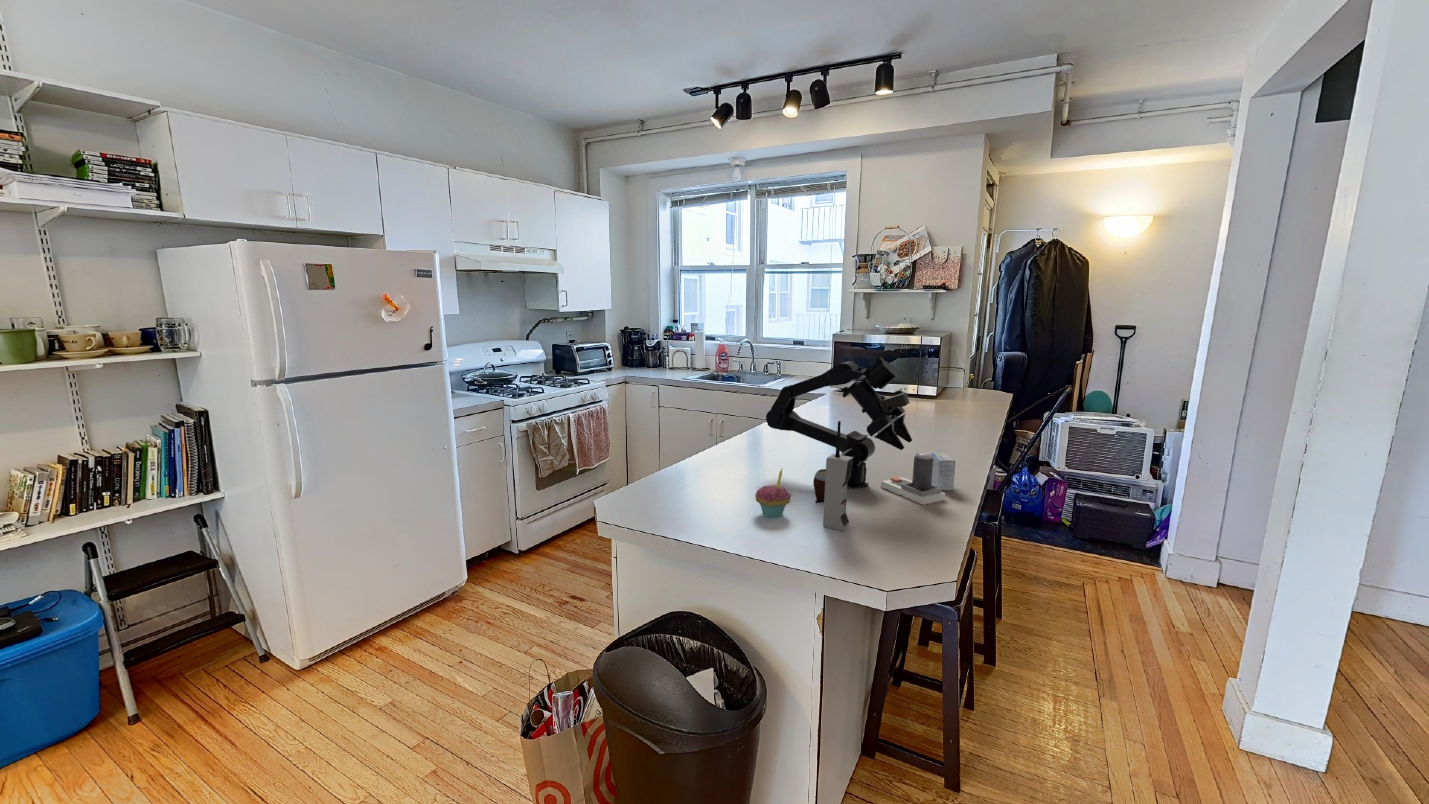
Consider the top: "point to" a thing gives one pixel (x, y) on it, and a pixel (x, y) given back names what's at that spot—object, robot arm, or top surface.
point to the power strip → (913, 491)
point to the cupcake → (773, 499)
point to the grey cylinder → (922, 471)
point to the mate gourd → (821, 483)
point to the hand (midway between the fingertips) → (907, 445)
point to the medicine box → (943, 471)
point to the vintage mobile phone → (836, 488)
